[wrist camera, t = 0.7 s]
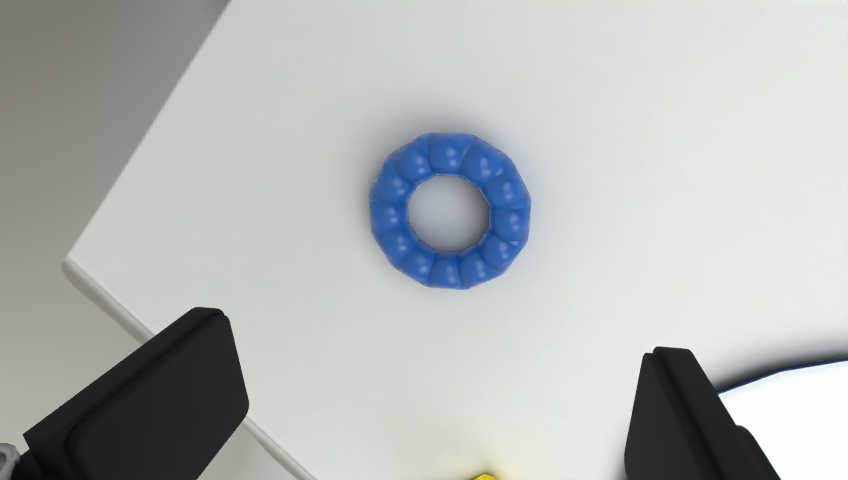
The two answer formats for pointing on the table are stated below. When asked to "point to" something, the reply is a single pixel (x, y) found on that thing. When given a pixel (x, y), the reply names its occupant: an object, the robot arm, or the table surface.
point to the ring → (475, 167)
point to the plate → (797, 419)
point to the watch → (485, 477)
